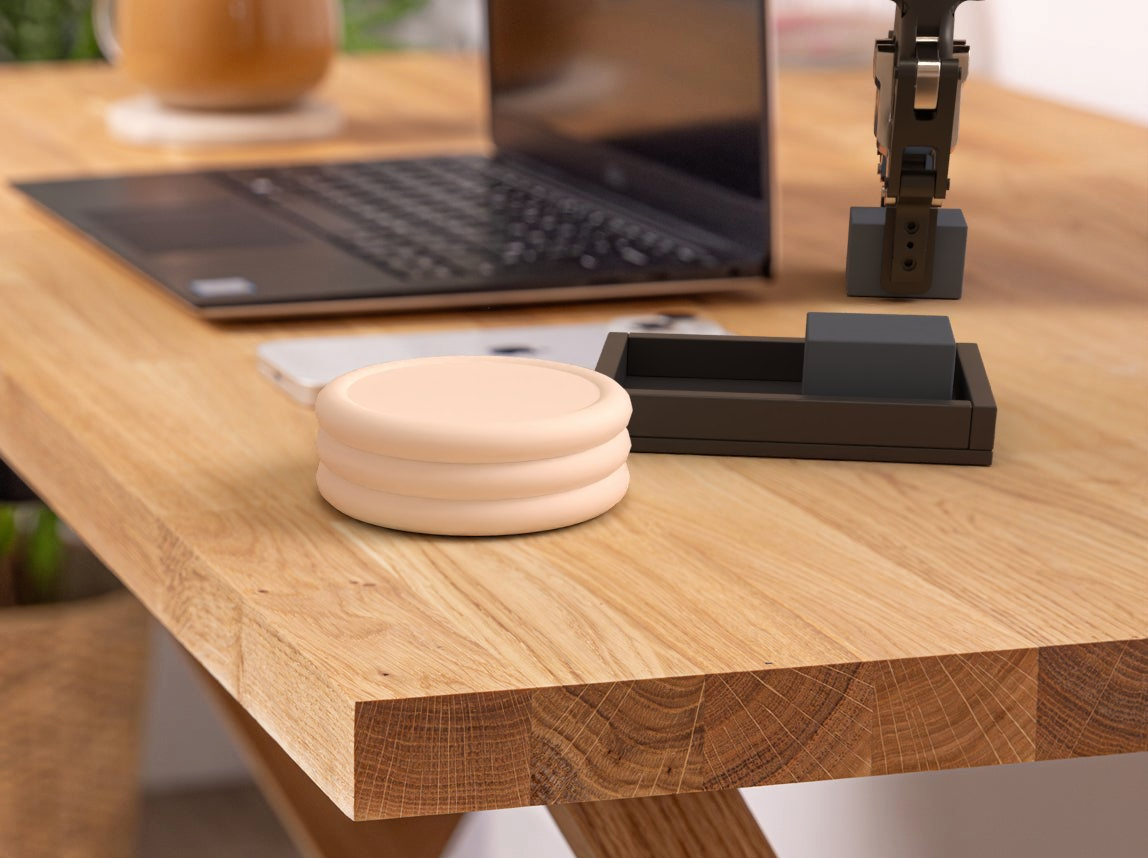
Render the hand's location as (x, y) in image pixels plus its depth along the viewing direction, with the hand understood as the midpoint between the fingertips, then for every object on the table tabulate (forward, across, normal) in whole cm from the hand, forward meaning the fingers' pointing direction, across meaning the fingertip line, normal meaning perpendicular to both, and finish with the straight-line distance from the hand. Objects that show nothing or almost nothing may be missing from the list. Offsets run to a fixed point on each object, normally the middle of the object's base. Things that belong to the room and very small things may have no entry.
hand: (902, 277), depth 102 cm
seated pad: (0, -25, +2) cm, 25 cm away
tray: (0, -25, +5) cm, 25 cm away
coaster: (+1, -36, +15) cm, 39 cm away
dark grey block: (0, 0, 0) cm, 0 cm away
